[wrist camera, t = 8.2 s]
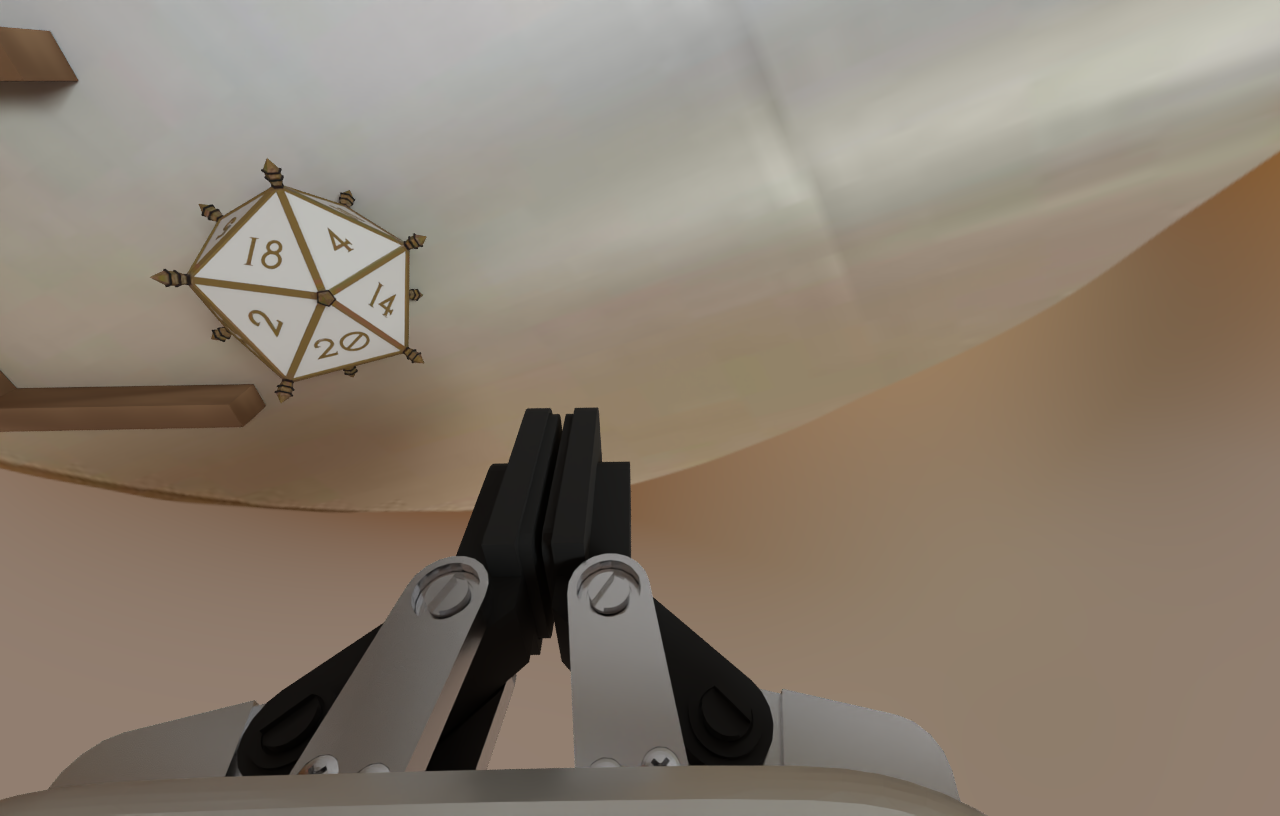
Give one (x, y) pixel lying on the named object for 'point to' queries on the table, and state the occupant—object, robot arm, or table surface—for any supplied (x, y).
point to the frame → (104, 407)
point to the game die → (304, 283)
